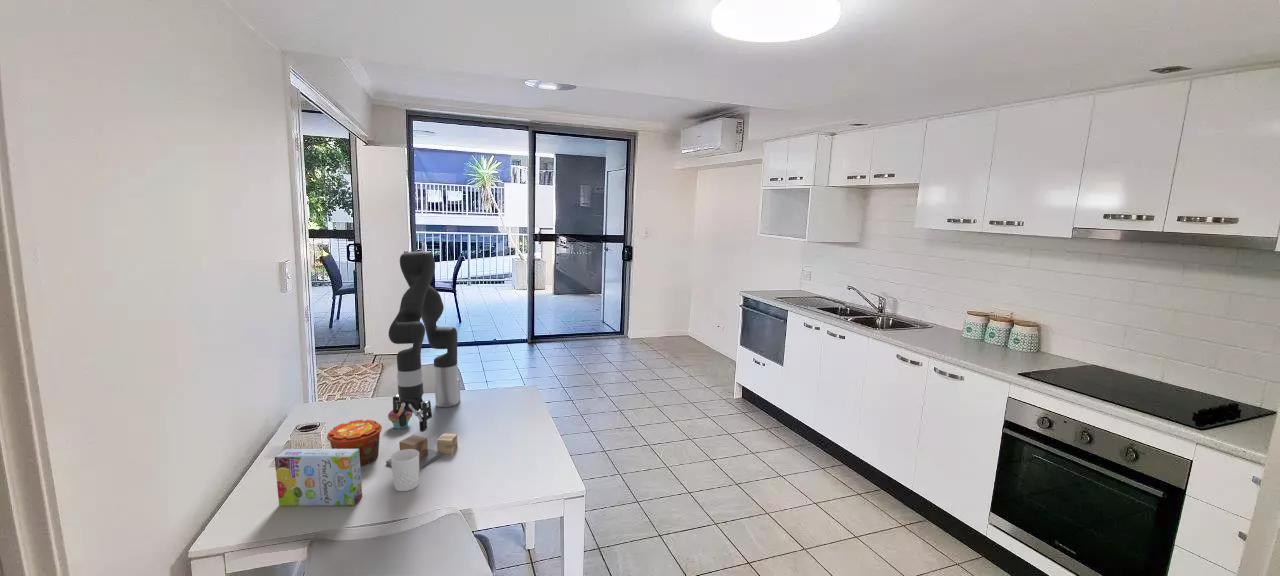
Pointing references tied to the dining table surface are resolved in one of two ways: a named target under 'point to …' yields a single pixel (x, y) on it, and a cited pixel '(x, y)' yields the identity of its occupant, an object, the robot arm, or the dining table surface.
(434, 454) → the slate coaster
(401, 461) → the white cup
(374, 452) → the food container
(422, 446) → the walnut block
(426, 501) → the dining table surface
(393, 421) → the cupcake
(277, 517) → the dining table surface
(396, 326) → the robot arm
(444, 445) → the oak block
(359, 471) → the snack box
